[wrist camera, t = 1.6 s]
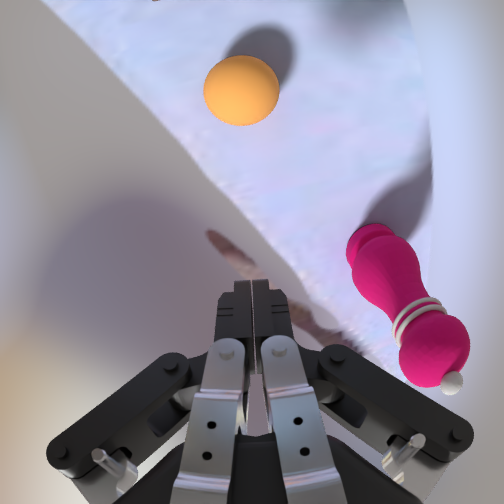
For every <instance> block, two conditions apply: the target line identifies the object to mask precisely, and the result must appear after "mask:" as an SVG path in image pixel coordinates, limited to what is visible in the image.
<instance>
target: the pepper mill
mask: <svg viewBox="0 0 504 504" xmlns="http://www.w3.org/2000/svg"><path fill="white" fill-rule="evenodd" d="M346 257H347V261H348V263H349V264H350V266H351V268H352V278H353V282H354V284H355V286H356V288H357V289H358V291H359V292H360V294H361V295H362V296H363V297H364V298H365V299H366V300H368V301H369V302H370V303H372V304H374V305H375V306H377V307H379V308H380V309H382V310H383V311H384V312H385V313H386V314H387V315H388V317H389V318H390V320H391V321H392V323H393V325H392V335H393V337H394V339H395V340H396V344H397V346H398V347H399V348H400V351H399V364H400V367H401V370H402V372H403V373H404V375H405V376H406V378H407V379H408V380H409V381H410V382H411V383H413V384H415V385H417V386H419V387H425V388H428V387H435V386H439V385H440V386H441V390H442V391H443V393H444V394H446V395H454V394H456V393H457V392H458V391H459V390H460V389H461V387H462V384H463V378H462V376H461V374H460V373H459V371H460V370H461V369H462V368H463V366H464V364H465V362H466V361H467V358H468V356H469V351H470V339H469V335H468V332H467V330H466V328H465V326H464V325H463V324H462V322H461V321H460V320H459V319H457V318H456V317H454V316H451V315H447V312H446V309H445V308H444V307H443V306H442V304H441V302H440V301H439V300H437V299H436V298H433V297H430V296H429V295H428V293H427V291H426V290H425V288H424V285H423V283H422V280H421V273H420V265H419V261H418V258H417V256H416V253H415V251H414V250H413V248H412V247H411V246H410V244H409V243H408V242H407V241H405V240H404V239H402V238H400V237H398V236H396V235H395V234H394V233H393V232H392V231H391V230H390V229H389V228H388V227H387V226H385V225H382V224H369V225H366V226H364V227H362V228H360V229H359V230H358V231H356V232H355V233H354V234H353V236H352V237H351V238H350V240H349V242H348V244H347V248H346Z"/></svg>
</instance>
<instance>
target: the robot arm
mask: <svg viewBox="0 0 504 504" xmlns="http://www.w3.org/2000/svg"><path fill="white" fill-rule="evenodd" d="M252 285H253V306H254V307H253V309H254V333H255V346H256V360H257V373H258V374H262V381H263V393H264V400H265V406H266V413H267V420H268V426H269V433H268V434H265V435H261V436H258V437H254V436H248V435H247V418H248V405H249V404H248V403H249V387H250V374H255V359H254V335H253V334H254V333H253V310H252V296H251V282H250V280H243V281H234V292H225V293H223V294H222V295H221V297H220V298H219V300H218V306H217V317H216V326H215V336H214V343H213V344H212V345H211V346H210V348H209V350H208V351H207V352H206V353H204V354H203V355H200V356H197V357H194V358H190V359H187V358H186V357H185V356H184V355H182V354H180V353H167V354H164V355H162V356H160V357H159V358H158V359H157V360H155V361H154V362H153V363H151V364H150V365H149V366H148V367H147V368H145V369H144V370H143V371H141V372H140V373H139V374H138V375H136V376H135V377H134V378H133V379H131V380H130V381H129V382H127V383H126V384H125V385H124V386H122V387H121V388H120V389H119V390H117V391H116V392H115V393H113V394H112V395H111V396H110V397H108V398H107V399H106V400H104V401H103V402H102V403H100V404H99V405H98V406H96V407H95V408H94V409H93V410H91V411H90V412H89V413H87V414H86V415H85V416H83V417H82V418H81V419H79V420H78V421H77V422H75V423H74V424H73V425H71V426H70V427H69V428H67V429H66V430H65V431H64V432H62V433H61V434H60V435H58V436H57V437H55V438H54V439H53V440H52V441H51V442H50V443H49V445H48V447H47V450H46V456H47V460H48V462H49V463H50V465H51V466H53V467H54V468H55V469H57V470H58V471H60V472H61V473H63V475H65V476H66V477H67V478H69V479H71V480H72V481H73V483H74V484H75V486H76V487H77V488H78V489H79V491H80V492H81V494H83V496H84V497H85V499H86V500H87V501H88V502H89V504H423V502H424V501H425V500H426V498H427V497H428V495H429V494H430V493H431V491H432V490H433V488H434V487H435V485H436V484H437V482H438V481H439V479H440V478H441V476H442V475H443V473H444V472H445V470H446V468H447V467H448V465H449V463H451V462H452V461H453V460H454V459H455V458H457V457H458V456H459V455H461V454H462V453H463V452H464V451H465V450H467V449H468V448H469V447H470V445H471V444H472V442H473V439H474V432H473V428H472V426H471V424H470V423H469V422H468V421H466V420H465V419H463V418H461V417H460V416H458V415H456V414H454V413H453V412H451V411H450V410H448V409H446V408H445V407H443V406H441V405H440V404H438V403H436V402H435V401H433V400H431V399H430V398H428V397H426V396H425V395H423V394H422V393H420V392H418V391H417V390H415V389H413V388H412V387H410V386H408V385H407V384H405V383H404V382H402V381H400V380H399V379H397V378H396V377H394V376H392V375H391V374H389V373H388V372H386V371H384V370H383V369H381V368H380V367H378V366H376V365H375V364H373V363H372V362H370V361H369V360H367V359H365V358H364V357H362V356H361V355H359V354H358V353H356V352H354V351H353V350H351V349H350V348H348V347H346V346H344V345H339V344H333V345H329V346H327V347H325V348H323V349H322V350H321V352H319V351H314V350H308V349H305V348H303V347H301V346H300V345H299V344H297V342H296V341H295V340H294V336H293V331H292V325H291V319H290V314H289V308H288V303H287V297H286V295H285V294H284V293H283V292H282V291H281V289H276V290H269V282H268V279H259V280H252ZM319 409H320V410H322V411H323V412H324V413H326V414H327V415H328V416H330V417H331V418H332V419H334V420H335V421H336V422H338V423H339V424H340V425H342V426H343V427H344V428H346V429H347V430H348V431H350V432H351V433H352V434H354V435H355V436H357V437H358V438H359V439H361V440H362V441H364V442H365V443H366V444H368V445H369V446H371V447H372V448H374V449H375V450H376V451H378V452H379V453H381V454H382V455H383V456H382V466H383V469H384V470H385V471H386V472H387V473H388V474H389V475H390V476H391V478H392V479H391V478H389V477H388V476H386V475H385V474H384V473H383V472H381V471H380V470H378V469H377V468H376V467H375V466H373V465H372V464H371V463H369V462H368V461H367V460H365V459H364V458H363V457H361V456H360V455H359V454H357V453H356V452H355V451H354V450H352V449H351V448H350V447H349V446H347V445H346V444H345V443H343V442H342V441H340V440H338V439H337V438H335V437H332V436H330V435H327V434H326V432H325V428H324V424H323V421H322V417H321V413H320V410H319ZM188 421H189V423H188V428H187V434H186V438H185V442H183V443H182V444H180V445H178V446H176V447H175V448H174V449H172V450H171V451H170V452H169V453H168V454H167V455H166V456H165V457H164V458H163V459H162V460H160V461H159V462H158V463H157V464H156V465H155V466H154V467H153V468H152V469H151V470H150V471H149V472H148V473H147V474H145V475H144V476H143V477H142V478H141V479H140V480H139V481H138V482H137V483H135V482H136V480H137V478H138V470H137V466H139V465H140V464H141V463H142V462H143V461H145V460H146V459H147V458H148V457H149V456H150V455H152V454H153V453H154V452H155V451H156V450H157V449H158V448H160V447H161V446H162V445H163V444H164V443H165V442H166V441H167V440H169V439H170V438H171V437H172V436H173V435H174V434H175V433H176V432H177V431H178V430H180V429H181V428H182V427H183V426H184V425H185V424H186V423H187V422H188ZM134 483H135V484H134ZM133 484H134V485H133Z"/></svg>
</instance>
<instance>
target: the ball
mask: <svg viewBox="0 0 504 504" xmlns="http://www.w3.org/2000/svg"><path fill="white" fill-rule="evenodd" d="M278 98H279V83H278V79H277V77H276V75H275V73H274V71H273V70H272V69H271V67H269V66H268V65H267V64H266V63H265V62H263V61H262V60H260V59H258V58H255V57H252V56H246V55H238V56H232V57H228V58H226V59H224V60H222V61H220V62H219V63H217V64H216V65H215V66H214V67H213V68H212V69H211V70H210V72H209V73H208V75H207V77H206V79H205V83H204V99H205V102H206V105H207V107H208V108H209V110H210V111H211V112H212V114H213V115H214V116H216V117H217V118H218V119H220V120H221V121H223V122H225V123H228V124H231V125H237V126H245V125H251V124H254V123H257V122H259V121H261V120H263V119H264V118H266V117H267V116H268V115H269V114H270V113H271V112H272V111H273V109H274V108H275V106H276V104H277V101H278Z"/></svg>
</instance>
